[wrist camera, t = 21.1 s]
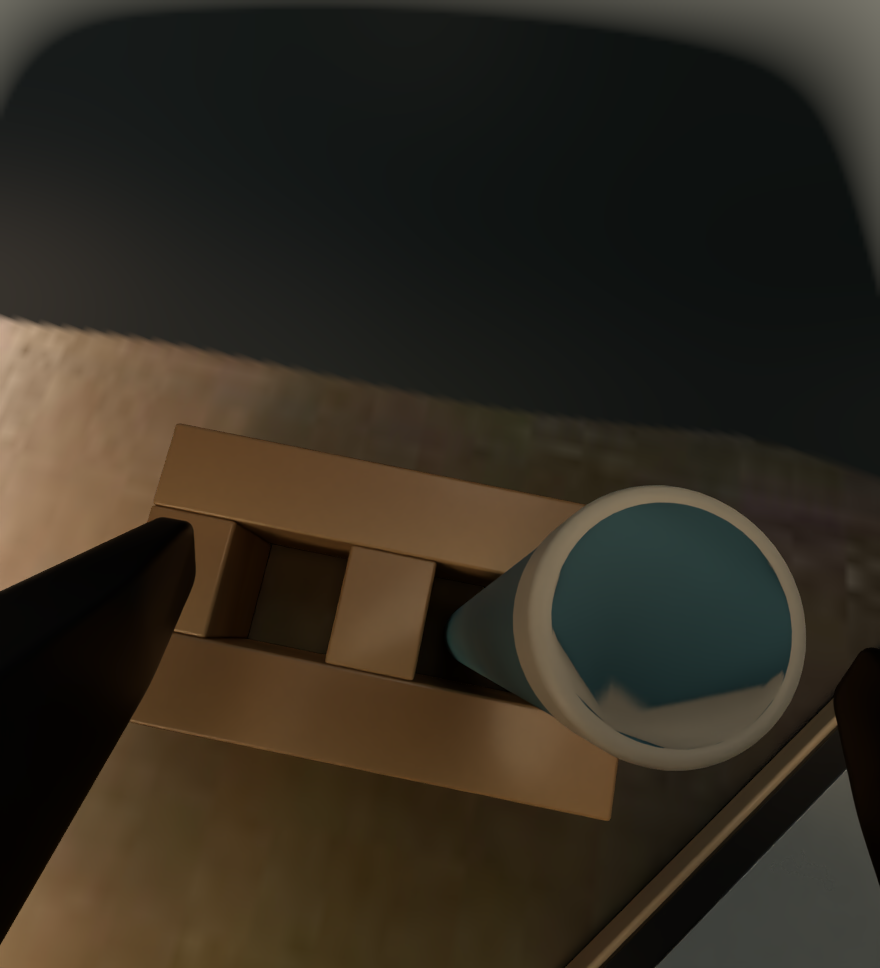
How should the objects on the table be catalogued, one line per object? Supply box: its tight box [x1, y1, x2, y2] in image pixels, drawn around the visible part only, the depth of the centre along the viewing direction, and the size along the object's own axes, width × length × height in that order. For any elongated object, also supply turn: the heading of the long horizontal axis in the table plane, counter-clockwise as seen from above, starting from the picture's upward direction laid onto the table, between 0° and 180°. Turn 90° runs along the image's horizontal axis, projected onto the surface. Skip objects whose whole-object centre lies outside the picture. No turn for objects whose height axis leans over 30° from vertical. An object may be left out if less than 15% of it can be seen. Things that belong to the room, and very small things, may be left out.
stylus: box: [444, 485, 806, 771], centre depth 10 cm, size 1×1×14 cm
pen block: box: [129, 424, 619, 821], centre depth 15 cm, size 6×10×4 cm, turn 79°
